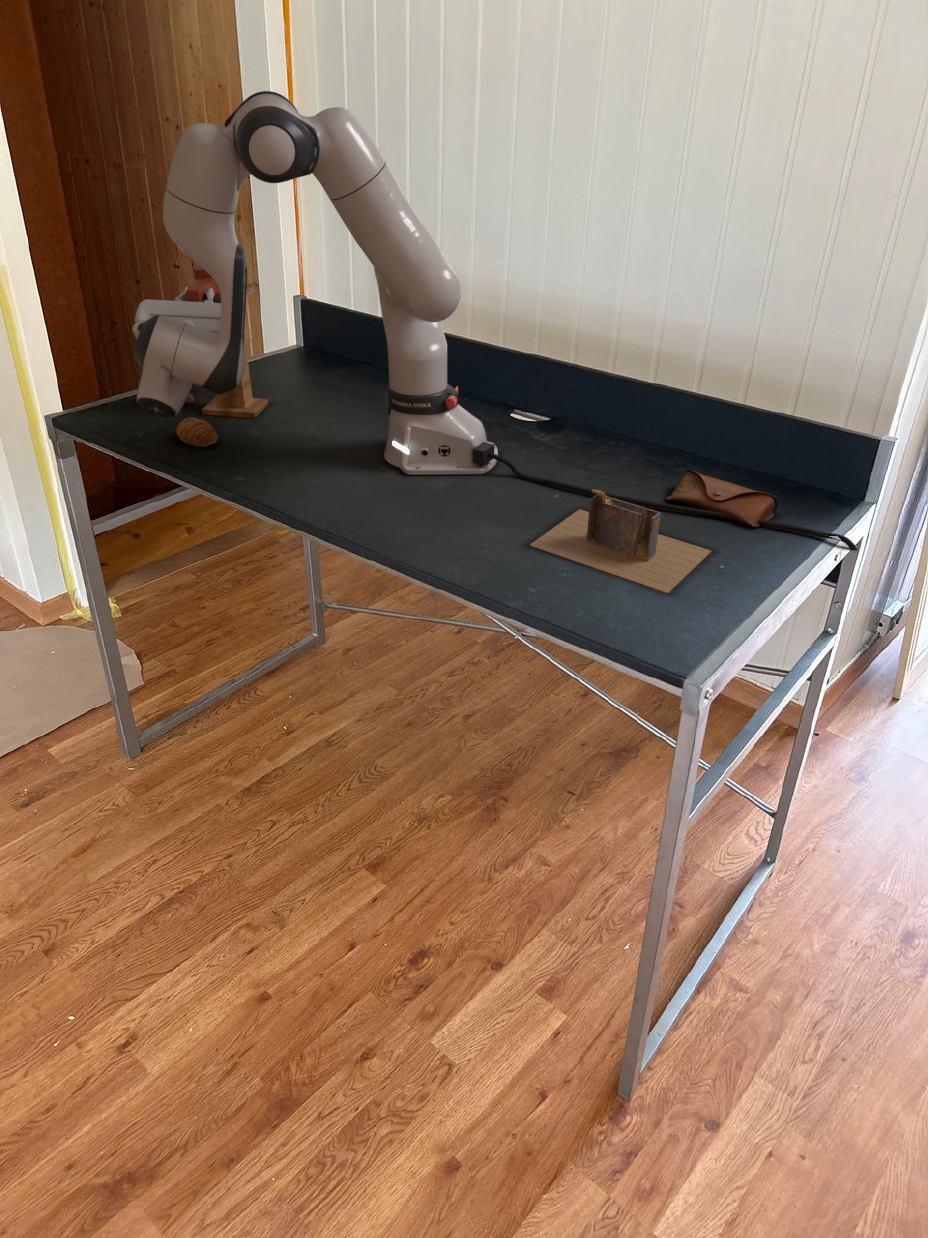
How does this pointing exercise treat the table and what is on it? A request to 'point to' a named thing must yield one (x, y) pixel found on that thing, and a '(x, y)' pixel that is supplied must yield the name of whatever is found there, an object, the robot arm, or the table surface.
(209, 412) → the stand
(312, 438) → the table surface
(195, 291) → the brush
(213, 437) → the pastry
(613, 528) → the ruin model on sheet
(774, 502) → the sunglasses case
